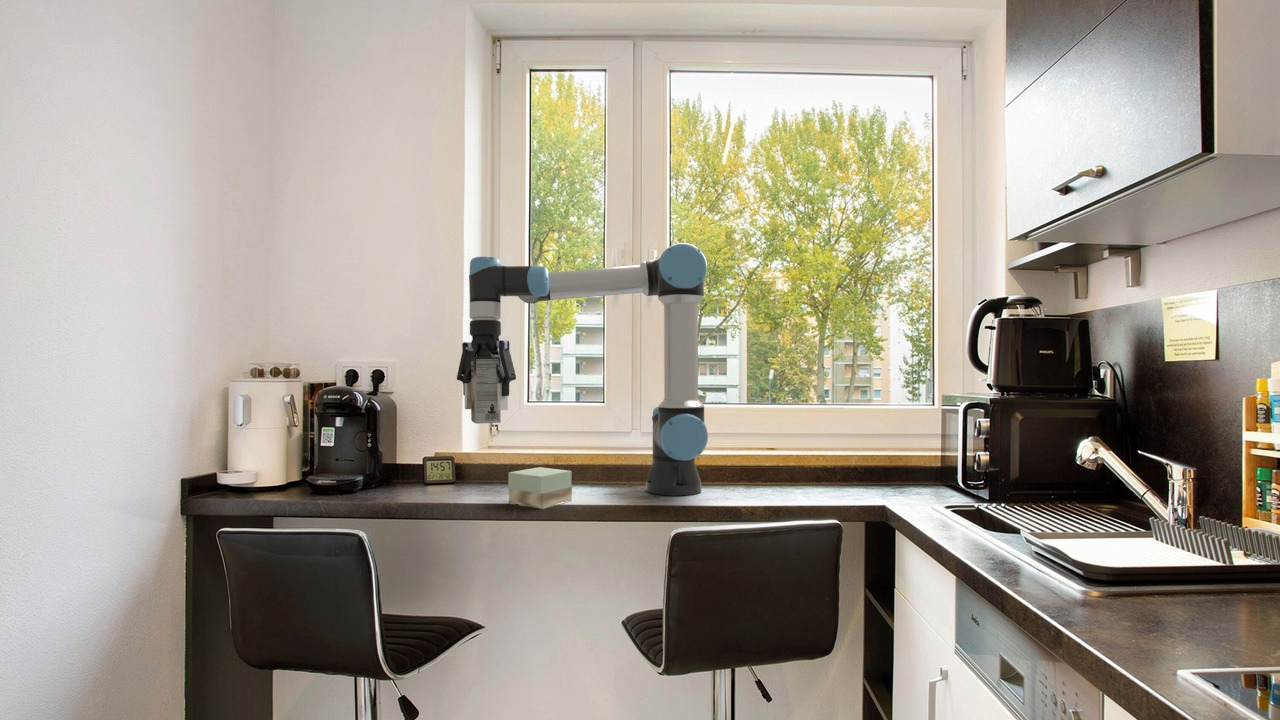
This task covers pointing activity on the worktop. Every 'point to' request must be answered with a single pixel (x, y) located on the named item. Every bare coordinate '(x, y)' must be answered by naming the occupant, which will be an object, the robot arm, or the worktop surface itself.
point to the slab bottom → (540, 498)
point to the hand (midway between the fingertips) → (485, 409)
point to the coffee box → (484, 390)
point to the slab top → (539, 480)
